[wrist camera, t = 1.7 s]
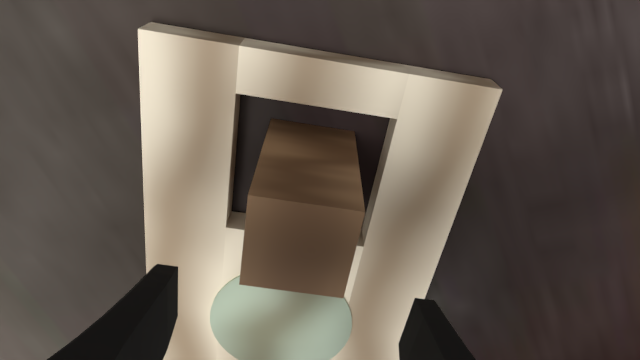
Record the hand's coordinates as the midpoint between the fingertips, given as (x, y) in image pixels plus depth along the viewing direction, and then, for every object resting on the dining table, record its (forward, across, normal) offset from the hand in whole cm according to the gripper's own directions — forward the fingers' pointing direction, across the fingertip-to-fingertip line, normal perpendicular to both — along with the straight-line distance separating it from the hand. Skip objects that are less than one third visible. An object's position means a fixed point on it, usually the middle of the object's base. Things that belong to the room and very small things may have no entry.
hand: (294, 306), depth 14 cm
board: (+10, 0, +4) cm, 11 cm away
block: (+10, 0, 0) cm, 10 cm away
